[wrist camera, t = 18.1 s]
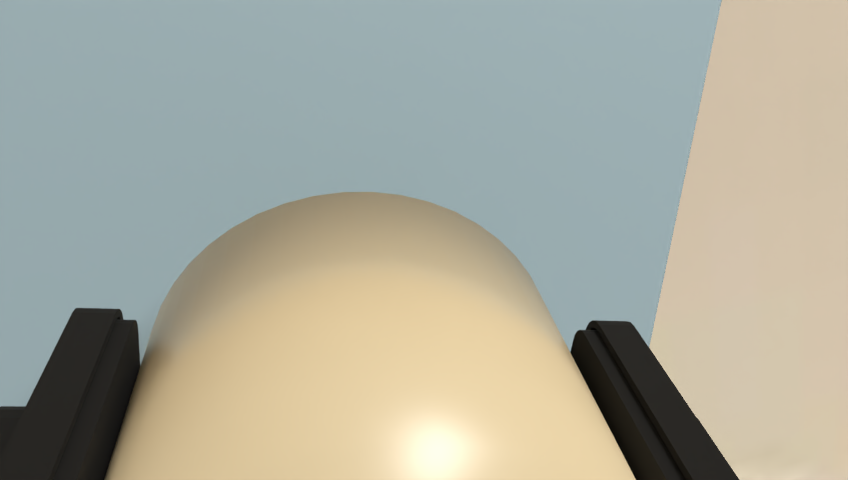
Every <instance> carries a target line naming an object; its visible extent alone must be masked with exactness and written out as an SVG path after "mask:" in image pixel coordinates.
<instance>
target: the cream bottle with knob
mask: <svg viewBox="0 0 848 480" xmlns="http://www.w3.org/2000/svg"><path fill="white" fill-rule="evenodd" d="M104 480H636V479H635V477H634V475H633V473H632V471H631V469H630V467H629V465H628V463H627V461H626V459H625V458H624V456H623V454H622V452H621V450H620V448H619V446H618V444H617V442H616V440H615V438H614V436H613V434H612V432H611V430H610V428H609V427H608V425H607V423H606V421H605V419H604V417H603V415H602V413H601V411H600V409H599V407H598V405H597V403H596V401H595V399H594V397H593V396H592V394H591V392H590V390H589V388H588V386H587V384H586V382H585V380H584V378H583V376H582V374H581V372H580V370H579V368H578V366H577V365H576V363H575V361H574V359H573V357H572V355H571V353H570V351H569V349H568V347H567V345H566V343H565V341H564V339H563V337H562V336H561V334H560V332H559V330H558V328H557V326H556V324H555V322H554V320H553V318H552V316H551V314H550V312H549V310H548V308H547V306H546V305H545V303H544V301H543V299H542V297H541V295H540V293H539V291H538V289H537V287H536V285H535V284H534V282H533V280H532V278H531V276H530V274H529V273H528V272H527V270H526V269H525V268H524V266H523V265H522V264H521V262H520V261H519V260H518V258H517V257H516V256H515V255H514V254H513V253H512V252H511V251H510V250H509V249H508V248H507V247H506V246H505V245H504V244H503V243H502V242H501V241H500V240H499V239H498V238H496V237H495V236H494V235H492V234H491V233H490V232H488V231H487V230H485V229H484V228H483V227H481V226H480V225H479V224H477V223H475V222H473V221H471V220H470V219H468V218H466V217H464V216H462V215H460V214H458V213H457V212H455V211H452V210H450V209H447V208H444V207H442V206H439V205H436V204H434V203H431V202H428V201H424V200H420V199H416V198H411V197H407V196H403V195H396V194H387V193H378V192H340V193H333V194H325V195H318V196H311V197H308V198H304V199H300V200H296V201H292V202H288V203H284V204H282V205H279V206H277V207H274V208H272V209H269V210H266V211H264V212H261V213H259V214H256V215H255V216H253V217H251V218H249V219H247V220H245V221H244V222H242V223H240V224H238V225H236V226H234V227H233V228H231V229H230V230H228V231H227V232H225V233H224V234H223V235H221V236H220V237H219V238H217V239H216V240H214V241H213V242H212V243H210V244H209V245H208V246H207V247H206V248H205V249H204V250H203V251H202V252H201V253H200V254H199V255H198V256H196V257H195V258H194V259H193V260H192V261H191V262H190V263H189V264H188V266H187V267H186V268H185V269H184V271H183V272H182V273H181V275H180V276H179V277H178V278H177V280H176V281H175V282H174V284H173V285H172V287H171V289H170V290H169V292H168V294H167V296H166V298H165V299H164V301H163V303H162V305H161V307H160V309H159V312H158V315H157V317H156V320H155V323H154V325H153V328H152V331H151V334H150V337H149V341H148V344H147V347H146V350H145V353H144V356H143V359H142V362H141V366H140V369H139V372H138V375H137V378H136V381H135V384H134V388H133V391H132V394H131V397H130V400H129V403H128V406H127V410H126V413H125V416H124V419H123V422H122V425H121V428H120V432H119V435H118V438H117V441H116V444H115V447H114V450H113V454H112V457H111V460H110V463H109V466H108V469H107V472H106V476H105V479H104Z"/></svg>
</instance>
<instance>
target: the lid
mask: <svg viewBox="0 0 848 480" xmlns="http://www.w3.org/2000/svg"><path fill="white" fill-rule="evenodd" d="M720 5H721V0H0V407H1V406H26V405H27V403H28V401H29V399H30V397H31V395H32V393H33V391H34V389H35V387H36V385H37V383H38V381H39V378H40V376H41V374H42V372H43V370H44V368H45V366H46V364H47V362H48V360H49V358H50V356H51V354H52V352H53V350H54V348H55V346H56V344H57V342H58V340H59V338H60V336H61V334H62V332H63V330H64V328H65V326H66V324H67V322H68V320H69V318H70V316H71V314H72V312H73V311H74V309H75V308H107V309H120V310H121V311H122V314H123V320H136V321H137V324H138V334H139V352H140V366H141V362H142V359H143V356H144V353H145V350H146V347H147V344H148V341H149V337H150V334H151V331H152V328H153V325H154V323H155V320H156V317H157V315H158V312H159V309H160V307H161V305H162V303H163V301H164V299H165V298H166V296H167V294H168V292H169V290H170V289H171V287H172V285H173V284H174V282H175V281H176V280H177V278H178V277H179V276H180V275H181V273H182V272H183V271H184V269H185V268H186V267H187V266H188V264H189V263H190V262H191V261H192V260H193V259H194V258H195V257H196V256H198V255H199V254H200V253H201V252H202V251H203V250H204V249H205V248H206V247H207V246H208V245H209V244H210V243H212V242H213V241H214V240H216V239H217V238H219V237H220V236H221V235H223V234H224V233H225V232H227V231H228V230H230V229H231V228H233V227H234V226H236V225H238V224H240V223H242V222H244V221H245V220H247V219H249V218H251V217H253V216H255V215H256V214H259V213H261V212H264V211H266V210H269V209H272V208H274V207H277V206H279V205H282V204H284V203H288V202H292V201H296V200H300V199H304V198H308V197H311V196H318V195H325V194H333V193H340V192H378V193H387V194H396V195H403V196H407V197H411V198H416V199H420V200H424V201H428V202H431V203H434V204H436V205H439V206H442V207H444V208H447V209H450V210H452V211H455V212H457V213H458V214H460V215H462V216H464V217H466V218H468V219H470V220H471V221H473V222H475V223H477V224H479V225H480V226H481V227H483V228H484V229H485V230H487V231H488V232H490V233H491V234H492V235H494V236H495V237H496V238H498V239H499V240H500V241H501V242H502V243H503V244H504V245H505V246H506V247H507V248H508V249H509V250H510V251H511V252H512V253H513V254H514V255H515V256H516V257H517V258H518V260H519V261H520V262H521V264H522V265H523V266H524V268H525V269H526V270H527V272H528V273H529V274H530V276H531V278H532V280H533V282H534V284H535V285H536V287H537V289H538V291H539V293H540V295H541V297H542V299H543V301H544V303H545V305H546V306H547V308H548V310H549V312H550V314H551V316H552V318H553V320H554V322H555V324H556V326H557V328H558V330H559V332H560V334H561V336H562V337H563V339H564V341H565V343H566V345H567V347H568V349H569V351H570V352H571V347H572V343H573V339H574V336H575V334H576V332H577V331H578V330H586V327H587V325H588V324H589V322H591V321H592V320H599V321H628V322H631V323H632V324H633V325H634V326H635V328H636V329H637V331H638V332H639V334H640V335H641V337H642V338H643V340H644V341H645V343H646V344H647V345H648V347H649V345H650V340H651V336H652V331H653V326H654V321H655V316H656V312H657V307H658V302H659V297H660V292H661V288H662V283H663V278H664V273H665V269H666V264H667V259H668V254H669V249H670V245H671V240H672V235H673V230H674V225H675V221H676V216H677V211H678V206H679V201H680V197H681V192H682V187H683V182H684V177H685V173H686V168H687V163H688V158H689V154H690V149H691V144H692V139H693V134H694V130H695V125H696V120H697V115H698V110H699V106H700V101H701V96H702V91H703V86H704V82H705V77H706V72H707V67H708V62H709V58H710V53H711V48H712V43H713V39H714V34H715V29H716V24H717V19H718V15H719V10H720Z"/></svg>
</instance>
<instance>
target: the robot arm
mask: <svg viewBox="0 0 848 480" xmlns="http://www.w3.org/2000/svg"><path fill="white" fill-rule="evenodd" d="M570 353H571V355H572V357H573V359H574V361H575V363H576V365H577V366H578V368H579V370H580V372H581V374H582V376H583V378H584V380H585V382H586V384H587V386H588V388H589V390H590V392H591V394H592V396H593V397H594V399H595V401H596V403H597V405H598V407H599V409H600V411H601V413H602V415H603V417H604V419H605V421H606V423H607V425H608V427H609V428H610V430H611V432H612V434H613V436H614V438H615V440H616V442H617V444H618V446H619V448H620V450H621V452H622V454H623V456H624V458H625V459H626V461H627V463H628V465H629V467H630V469H631V471H632V473H633V475H634V477H635V479H636V480H739V479H738V477H737V476H736V474H735V473H734V471H733V470H732V468H731V467H730V465H729V464H728V463H727V461H726V460H725V458H724V457H723V455H722V454H721V452H720V451H719V449H718V448H717V446H716V445H715V443H714V442H713V440H712V439H711V437H710V436H709V434H708V433H707V432H706V430H705V429H704V427H703V426H702V424H701V423H700V421H699V420H698V419H697V418H696V416H695V415H694V414H693V412H692V411H691V409H690V408H689V406H688V405H687V403H686V402H685V400H684V399H683V397H682V396H681V394H680V393H679V391H678V390H677V388H676V387H675V385H674V384H673V382H672V381H671V380H670V378H669V377H668V375H667V374H666V372H665V371H664V369H663V368H662V366H661V365H660V363H659V362H658V360H657V359H656V357H655V356H654V354H653V353H652V351H651V350H650V348H649V347H648V345H647V344H646V343H645V341H644V340H643V338H642V337H641V335H640V334H639V332H638V331H637V329H636V328H635V326H634V325H633V324H632V323H631V322H628V321H599V320H592V321H591V322H589V324H588V325H587V327H586V330H578V331H577V332H576V334H575V336H574V339H573V343H572V347H571V352H570ZM139 369H140V352H139V334H138V324H137V321H136V320H123V314H122V311H121V310H120V309H107V308H75V309H74V311H73V312H72V314H71V316H70V318H69V320H68V322H67V324H66V326H65V328H64V330H63V332H62V334H61V336H60V338H59V340H58V342H57V344H56V346H55V348H54V350H53V352H52V354H51V356H50V358H49V360H48V362H47V364H46V366H45V368H44V370H43V372H42V374H41V376H40V378H39V381H38V383H37V385H36V387H35V389H34V391H33V393H32V395H31V397H30V399H29V401H28V403H27V405H26V406H1V407H0V480H104V479H105V476H106V472H107V469H108V466H109V463H110V460H111V457H112V454H113V450H114V447H115V444H116V441H117V438H118V435H119V432H120V428H121V425H122V422H123V419H124V416H125V413H126V410H127V406H128V403H129V400H130V397H131V394H132V391H133V388H134V384H135V381H136V378H137V375H138V372H139Z"/></svg>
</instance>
